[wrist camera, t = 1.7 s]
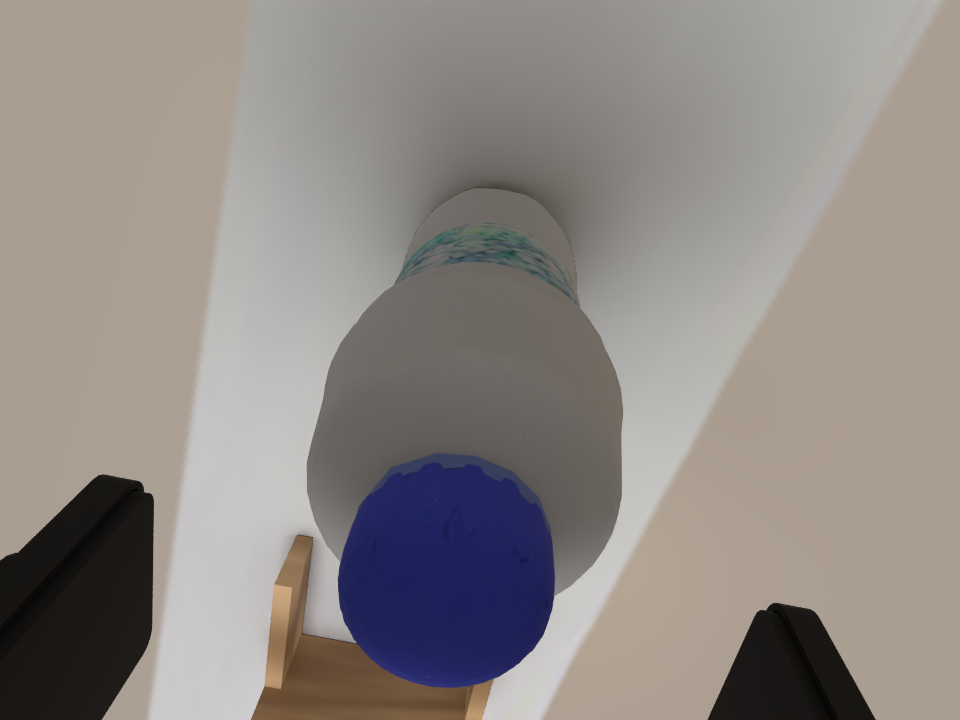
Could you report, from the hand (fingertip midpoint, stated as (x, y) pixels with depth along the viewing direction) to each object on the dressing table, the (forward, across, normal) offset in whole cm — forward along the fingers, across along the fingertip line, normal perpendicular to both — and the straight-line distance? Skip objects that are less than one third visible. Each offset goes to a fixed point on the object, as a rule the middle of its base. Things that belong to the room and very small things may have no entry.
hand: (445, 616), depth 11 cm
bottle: (+19, 0, -1) cm, 19 cm away
